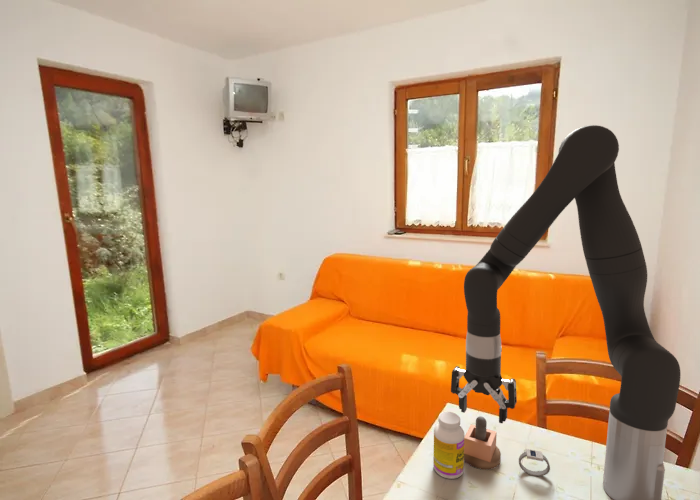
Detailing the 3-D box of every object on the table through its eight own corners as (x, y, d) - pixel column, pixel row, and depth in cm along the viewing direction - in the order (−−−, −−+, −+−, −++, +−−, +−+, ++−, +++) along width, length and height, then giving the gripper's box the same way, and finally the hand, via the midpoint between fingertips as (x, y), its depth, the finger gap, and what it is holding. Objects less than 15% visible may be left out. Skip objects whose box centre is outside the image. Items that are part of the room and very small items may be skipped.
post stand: (504, 451, 93) (505, 413, 91) (495, 475, 85) (497, 434, 84) (466, 439, 98) (467, 402, 96) (455, 460, 90) (456, 421, 89)
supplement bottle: (458, 484, 83) (459, 430, 81) (429, 473, 87) (429, 421, 84) (467, 465, 89) (468, 414, 87) (439, 455, 92) (439, 405, 90)
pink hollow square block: (496, 447, 92) (496, 431, 92) (490, 462, 87) (490, 446, 87) (470, 438, 95) (470, 424, 95) (463, 453, 90) (463, 437, 90)
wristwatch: (548, 472, 86) (549, 452, 85) (550, 481, 83) (551, 460, 82) (517, 466, 88) (518, 446, 87) (518, 475, 85) (519, 454, 84)
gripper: (446, 350, 88) (447, 415, 91) (513, 363, 80) (511, 434, 83) (457, 339, 94) (457, 400, 97) (520, 350, 87) (518, 416, 89)
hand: (482, 416), depth 90 cm, fingers open, 8 cm apart
